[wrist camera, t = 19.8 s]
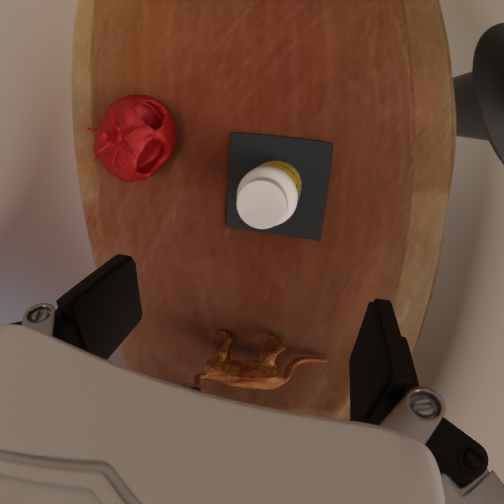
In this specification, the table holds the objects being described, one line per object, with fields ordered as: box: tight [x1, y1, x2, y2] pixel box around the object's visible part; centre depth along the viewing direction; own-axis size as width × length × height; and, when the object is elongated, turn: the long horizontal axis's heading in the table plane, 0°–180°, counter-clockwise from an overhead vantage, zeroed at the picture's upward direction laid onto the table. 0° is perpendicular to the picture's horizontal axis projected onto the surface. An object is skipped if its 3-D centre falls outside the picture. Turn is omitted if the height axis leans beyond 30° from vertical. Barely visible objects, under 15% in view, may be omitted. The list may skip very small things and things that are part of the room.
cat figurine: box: [182, 330, 328, 393], centre depth 35 cm, size 18×7×14 cm, turn 89°
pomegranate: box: [88, 95, 177, 182], centre depth 29 cm, size 10×10×9 cm
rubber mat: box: [226, 133, 333, 241], centre depth 32 cm, size 11×11×1 cm
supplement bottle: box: [236, 160, 302, 229], centre depth 27 cm, size 5×5×10 cm
